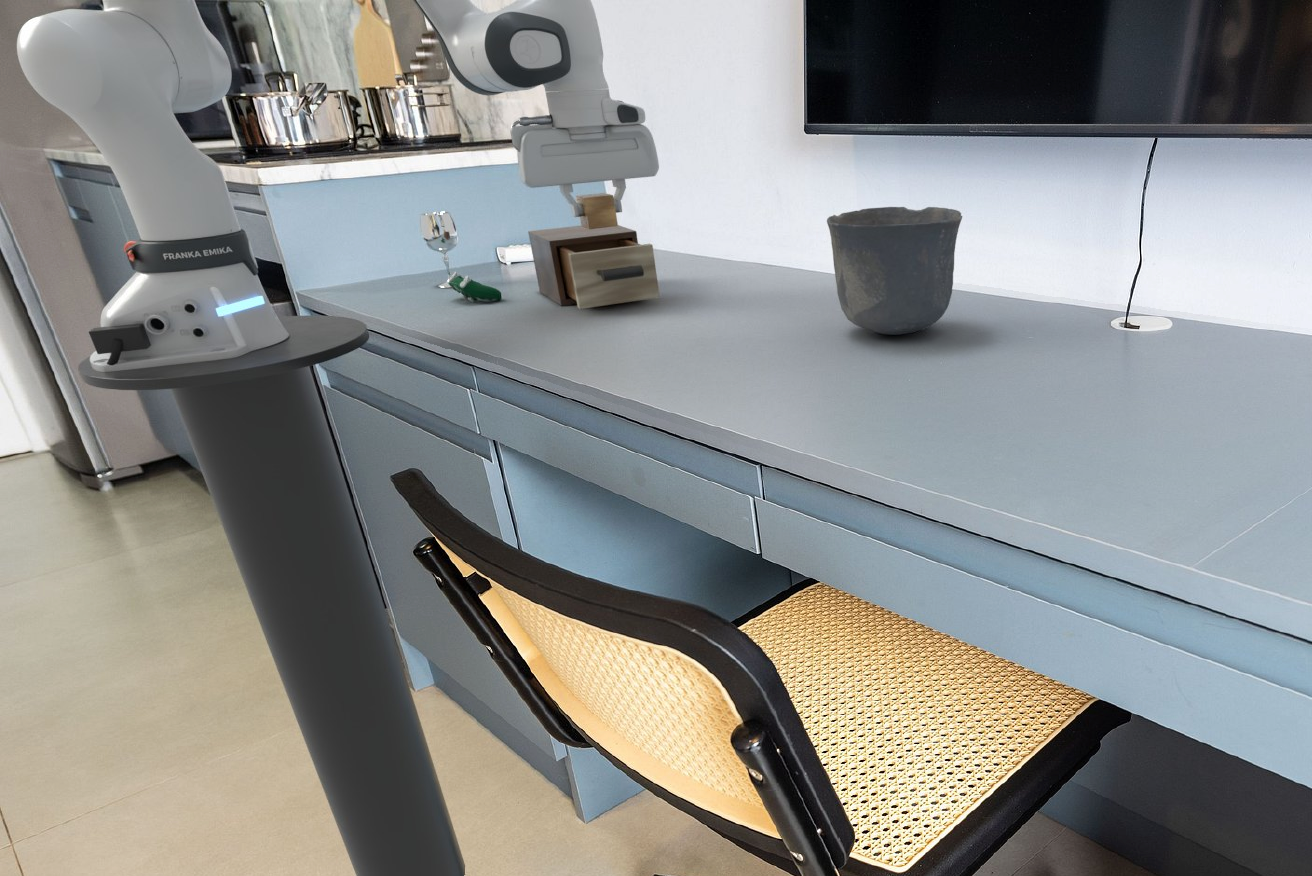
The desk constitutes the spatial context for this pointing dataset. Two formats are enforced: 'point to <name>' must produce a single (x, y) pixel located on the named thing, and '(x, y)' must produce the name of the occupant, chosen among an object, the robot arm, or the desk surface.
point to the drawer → (608, 272)
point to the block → (598, 210)
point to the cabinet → (548, 257)
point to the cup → (894, 266)
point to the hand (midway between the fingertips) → (597, 214)
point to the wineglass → (439, 235)
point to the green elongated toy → (473, 289)
